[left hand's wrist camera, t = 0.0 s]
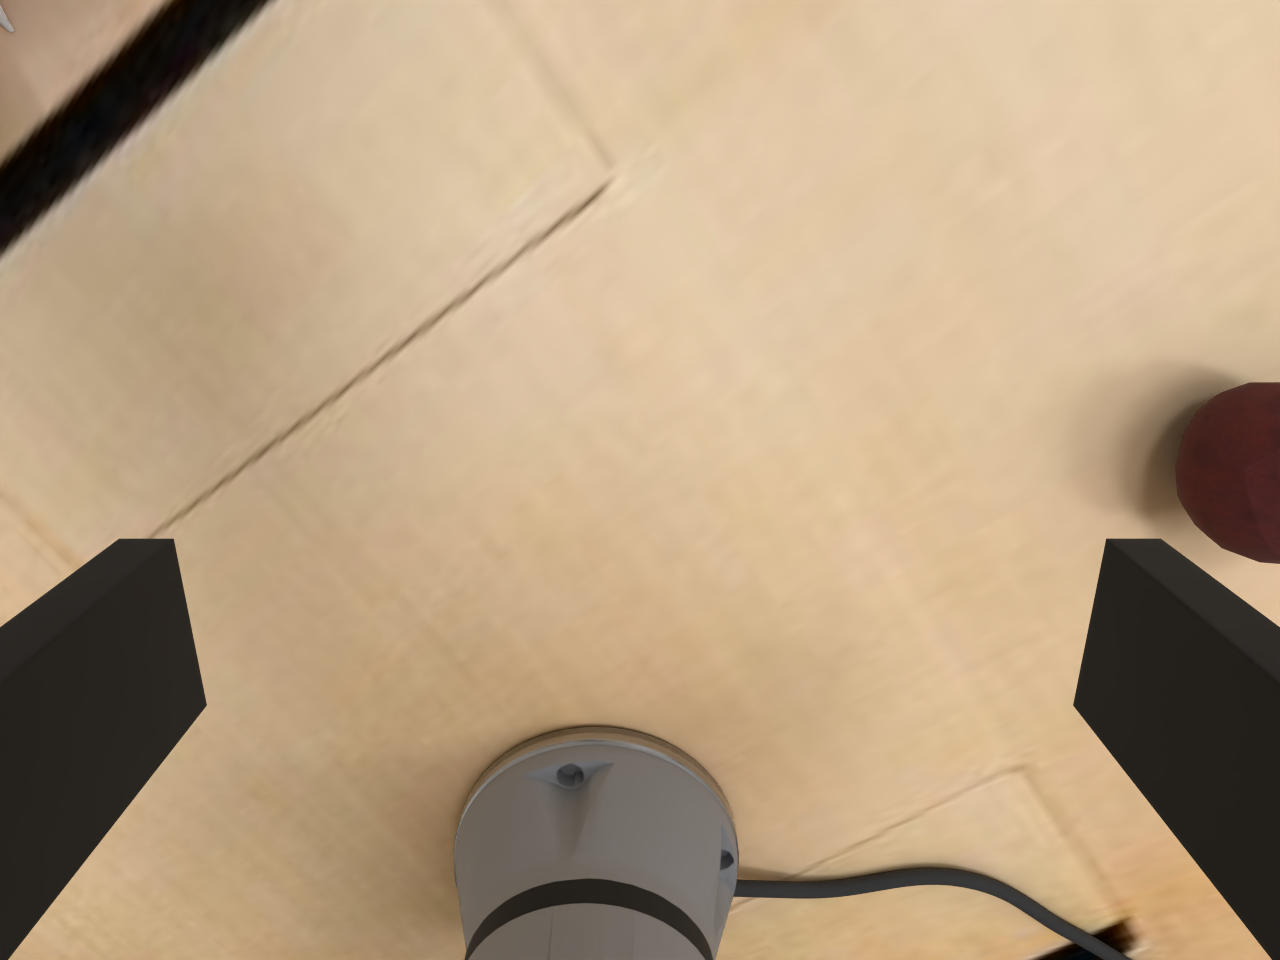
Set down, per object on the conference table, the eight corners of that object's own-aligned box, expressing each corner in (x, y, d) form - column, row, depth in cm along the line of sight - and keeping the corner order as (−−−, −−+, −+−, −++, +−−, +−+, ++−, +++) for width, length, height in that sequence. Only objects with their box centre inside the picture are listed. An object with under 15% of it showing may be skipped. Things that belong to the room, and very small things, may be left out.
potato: (1179, 548, 43) (1277, 620, 36) (1114, 419, 41) (1207, 471, 34) (1328, 468, 41) (1459, 528, 35) (1270, 330, 39) (1399, 367, 33)
